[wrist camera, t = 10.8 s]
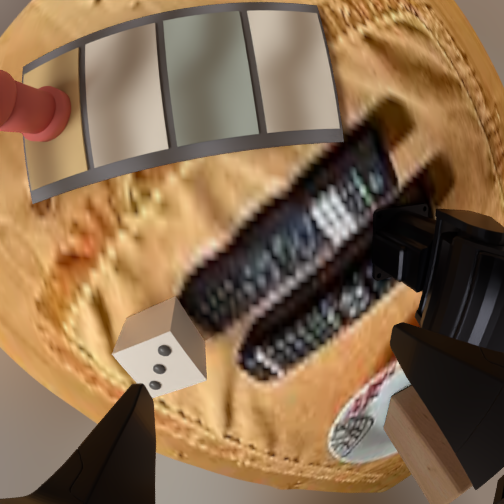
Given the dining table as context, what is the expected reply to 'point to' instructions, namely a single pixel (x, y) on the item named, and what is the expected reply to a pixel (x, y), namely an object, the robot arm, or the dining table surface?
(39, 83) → the board
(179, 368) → the die
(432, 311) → the robot arm
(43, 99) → the pawn
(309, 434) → the dining table surface
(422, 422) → the wooden block
